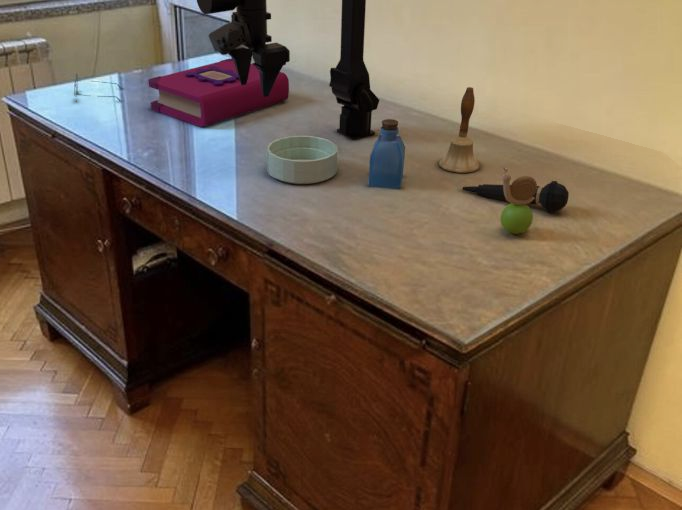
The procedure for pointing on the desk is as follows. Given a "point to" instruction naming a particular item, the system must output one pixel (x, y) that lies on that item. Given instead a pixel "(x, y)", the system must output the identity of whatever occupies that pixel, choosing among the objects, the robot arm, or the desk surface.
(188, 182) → the desk surface
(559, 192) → the microphone
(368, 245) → the desk surface
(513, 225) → the snail figurine
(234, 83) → the book
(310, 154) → the bowl
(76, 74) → the eyeglasses
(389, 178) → the perfume bottle
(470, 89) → the hand bell
